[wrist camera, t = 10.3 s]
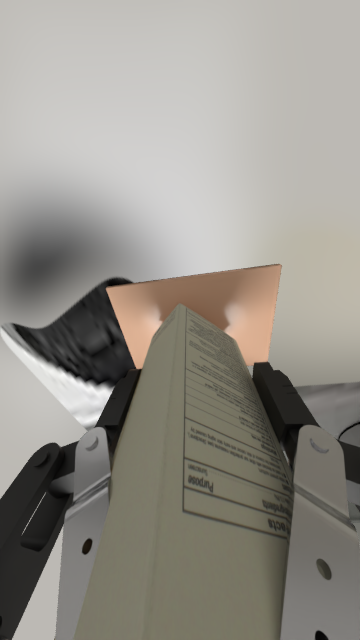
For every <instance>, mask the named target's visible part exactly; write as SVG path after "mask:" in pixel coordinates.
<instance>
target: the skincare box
mask: <svg viewBox="0 0 360 640" xmlns="http://www.w3.org/2000/svg"><path fill="white" fill-rule="evenodd" d="M291 482H292V472H291V470H290V468H289V465H288V463H287V460H286V458H285V456H284V453H283V451H282V449H281V446H280V444H279V442H278V439H277V437H276V434H275V432H274V430H273V427H272V425H271V423H270V420H269V418H268V415H267V413H266V411H265V408H264V406H263V404H262V401H261V399H260V397H259V394H258V392H257V389H256V387H255V385H254V382H253V380H252V378H251V375H250V373H249V370H248V368H247V366H246V363H245V361H244V358H243V356H242V354H241V351H240V349H239V346H238V344H237V342H236V340H235V339H234V338H232V337H231V336H229V335H228V334H227V333H225V332H224V331H222V330H221V329H219V328H218V327H217V326H215V325H214V324H212V323H211V322H209V321H208V320H206V319H205V318H203V317H202V316H200V315H198V314H197V313H195V312H194V311H192V310H191V309H189V308H187V307H186V306H184V305H183V304H181V303H179V304H178V305H177V306H176V307H175V308H174V310H173V311H172V312H171V313H170V314H169V316H168V317H167V318H166V319H165V321H164V322H163V323H162V324H161V326H160V327H159V328H158V330H157V331H156V332H155V334H154V335H153V337H152V339H151V343H150V346H149V349H148V352H147V355H146V358H145V361H144V364H143V367H142V370H141V373H140V376H139V379H138V382H137V386H136V389H135V391H134V395H133V398H132V401H131V404H130V407H129V410H128V413H127V416H126V419H125V422H124V425H123V428H122V431H121V434H120V437H119V440H118V443H117V446H116V449H115V452H114V456H113V460H112V472H111V486H110V503H109V509H108V513H107V516H106V520H105V524H104V528H103V531H102V535H101V539H100V542H99V546H98V550H97V553H96V557H95V561H94V564H93V568H92V572H91V575H90V579H89V583H88V586H87V590H86V594H85V597H84V601H83V605H82V608H81V612H80V616H79V619H78V623H77V627H76V630H75V634H74V638H73V640H279V628H280V612H281V596H282V582H283V573H284V564H285V555H286V545H287V531H288V529H287V527H286V514H287V500H288V498H289V494H290V489H291ZM91 548H92V546H91ZM91 548H90V550H91ZM316 565H317V568H318V571H319V573H320V574H321V575H322V577H323V578H325V574H324V572H323V570H322V568H321V567H320V566H319V565H318V564H317V563H316ZM54 640H55V639H54Z"/></svg>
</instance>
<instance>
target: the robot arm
mask: <svg viewBox="0 0 360 640" xmlns="http://www.w3.org/2000/svg"><path fill="white" fill-rule="evenodd" d="M141 370H142V369H130V370H129V371H128V373H127V375H126V377H125V378H121V380H120V381H119V382H118V383H117V384H116V385H115V387H114V389H113V391H112V394H111V395H110V398H109V400H108V402H107V404H106V406H105V408H104V410H103V412H102V414H101V416H100V418H99V420H98V422H97V424H96V426H95V427H94V428H93V429H91V430H89V431H88V432H86V433H85V434H84V435H83V437H82V438H81V439H80V440H79V441H77V442H74V443H71V444H69V445H66V446H63V447H60V446H59V445H58V444H57V443H49V444H46V445H44V446H43V447H41V448H40V449H39V450H37V452H35V453H34V454H33V456H32V457H31V458H30V459H29V460H28V462H27V463H26V465H25V466H24V467H23V469H22V470H21V472H20V473H19V474H18V476H17V477H16V478H15V480H14V481H13V483H12V484H11V485H10V487H9V488H8V489H7V491H6V492H5V494H4V495H3V496H2V498H1V499H0V640H12V638H13V636H14V633H15V631H16V629H17V627H18V625H19V622H20V620H21V618H22V616H23V613H24V611H25V609H26V607H27V604H28V602H29V600H30V598H31V595H32V593H33V591H34V589H35V587H36V584H37V582H38V580H39V578H40V576H41V573H42V571H43V569H44V567H45V564H46V562H47V560H48V558H49V556H50V553H51V551H52V549H53V547H54V544H55V542H56V540H57V538H58V535H59V533H60V531H61V529H62V527H63V524H64V529H63V543H62V556H61V569H60V570H61V571H60V582H59V596H58V609H57V622H56V636H55V640H73V638H74V634H75V630H76V627H77V623H78V619H79V616H80V612H81V608H82V605H83V601H84V597H85V594H86V590H87V586H88V583H89V579H90V575H91V572H92V568H93V564H94V561H95V557H96V553H97V550H98V546H99V542H100V539H101V535H102V531H103V528H104V524H105V520H106V516H107V513H108V509H109V503H110V486H111V472H112V460H113V456H114V452H115V449H116V446H117V443H118V440H119V437H120V434H121V431H122V428H123V425H124V422H125V419H126V416H127V413H128V410H129V407H130V404H131V401H132V398H133V395H134V391H135V389H136V386H137V382H138V379H139V376H140V373H141ZM252 380H253V382H254V385H255V387H256V389H257V392H258V394H259V397H260V399H261V401H262V404H263V406H264V408H265V411H266V413H267V415H268V418H269V420H270V423H271V425H272V427H273V430H274V432H275V434H276V437H277V439H278V442H279V444H280V446H281V449H282V451H285V452H286V455H287V457H288V459H289V460H288V465H289V468H290V470H291V472H292V482H291V489H290V494H289V498H288V500H287V514H286V527H287V529H288V531H287V545H286V555H285V564H284V573H283V582H282V596H281V612H280V628H279V640H360V547H359V539H358V535H357V531H356V529H355V526H354V525H353V524H352V523H351V521H350V518H349V513H348V502H347V501H349V502H351V503H354V504H355V505H356V507H357V508H358V510H359V512H360V424H359V425H356V426H354V427H352V428H350V429H349V430H347V431H346V432H345V433H343V435H342V436H341V437H340V439H339V440H337V439H335V438H334V437H333V436H332V435H331V434H330V433H329V432H327V431H326V430H324V429H322V428H321V427H320V426H319V425H318V423H317V422H316V421H315V419H314V417H313V416H312V414H311V413H310V411H309V410H308V408H307V406H306V405H305V403H304V402H303V400H302V399H301V397H300V396H299V394H298V393H297V391H296V389H295V388H294V387H293V385H292V383H291V382H290V380H289V378H288V377H287V376H286V375H284V374H283V373H282V372H281V371H280V370H273V369H272V367H271V365H270V364H269V362H255V363H254V367H253V378H252ZM45 492H46V494H45ZM44 494H45V496H44ZM43 496H44V497H43ZM42 497H43V499H42ZM41 499H42V501H41ZM40 501H41V503H40ZM39 503H40V504H39ZM38 504H39V506H38ZM37 506H38V508H37ZM36 508H37V510H36ZM35 510H36V511H35ZM34 511H35V513H34ZM33 513H34V515H33ZM32 515H33V517H32ZM31 517H32V519H31V520H30V518H31ZM29 520H30V522H29ZM28 522H29V524H28ZM27 524H28V526H27V527H26V525H27ZM25 527H26V529H25ZM24 529H25V531H24ZM23 531H24V533H23ZM22 533H23V534H22ZM91 546H92V548H91ZM90 548H91V550H90ZM316 563H317V564H318V565H319V566H320V567H321V568H322V570H323V572H324V574H325V578H323V577H322V575H321V574H320V573H319V571H318V568H317V565H316Z"/></svg>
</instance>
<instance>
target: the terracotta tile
mask: <svg viewBox="0 0 360 640" xmlns="http://www.w3.org/2000/svg"><path fill="white" fill-rule="evenodd" d="M281 267H282V265H280V264H274V265H266V266H259V267H251V268H243V269H236V270H228V271H221V272H213V273H206V274H198V275H191V276H183V277H176V278H168V279H161V280H153V281H146V282H138V283H131V284H123V285H116V286H108V287H107V288H106V290H107V293H108V295H109V298H110V300H111V303H112V306H113V308H114V311H115V314H116V316H117V319H118V321H119V324H120V327H121V329H122V332H123V335H124V337H125V340H126V342H127V345H128V348H129V350H130V353H131V356H132V358H133V361H134V363H135V366H136V369H142V367H143V364H144V361H145V358H146V355H147V352H148V349H149V346H150V343H151V339H152V337H153V335H154V334H155V332H156V331H157V330H158V328H159V327H160V326H161V324H162V323H163V322H164V321H165V319H166V318H167V317H168V316H169V314H170V313H171V312H172V311H173V310H174V308H175V307H176V306H177V305H178V304H179V303H181V304H183V305H184V306H186V307H187V308H189V309H191V310H192V311H194V312H195V313H197V314H198V315H200V316H202V317H203V318H205V319H206V320H208V321H209V322H211V323H212V324H214V325H215V326H217V327H218V328H219V329H221V330H222V331H224V332H225V333H227V334H228V335H229V336H231V337H232V338H234V339H235V340H236V342H237V344H238V346H239V349H240V351H241V354H242V356H243V358H244V361H245V363H246V366H253V365H254V363H255V362H267V361H268V354H269V348H270V341H271V334H272V328H273V321H274V314H275V308H276V301H277V294H278V287H279V280H280V274H281Z"/></svg>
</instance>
